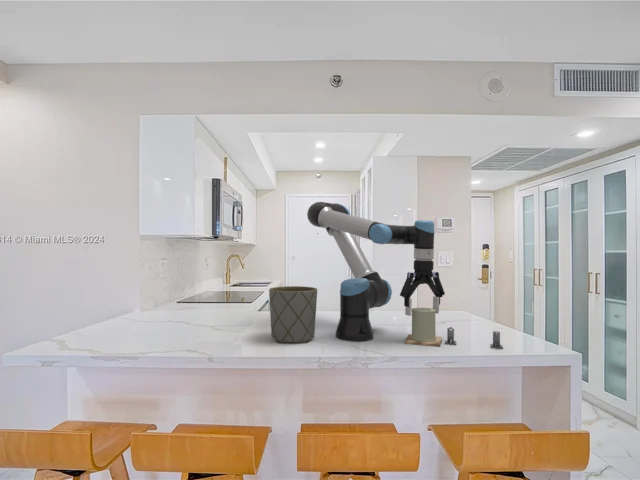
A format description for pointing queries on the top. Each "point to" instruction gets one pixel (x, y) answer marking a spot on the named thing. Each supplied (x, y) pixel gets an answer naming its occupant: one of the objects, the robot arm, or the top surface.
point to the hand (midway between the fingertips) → (422, 314)
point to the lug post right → (496, 341)
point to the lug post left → (450, 336)
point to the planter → (293, 313)
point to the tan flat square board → (433, 343)
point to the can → (423, 324)
